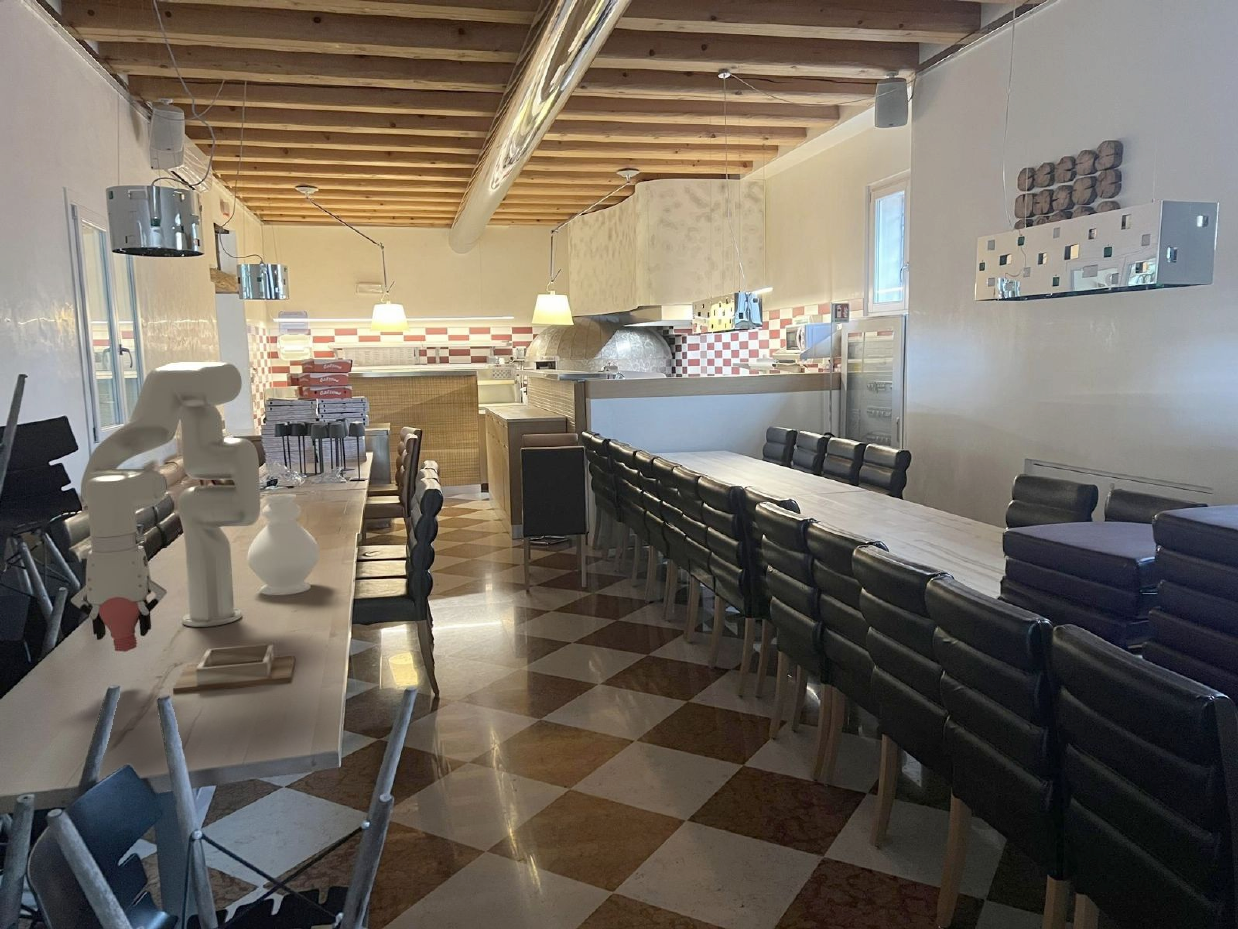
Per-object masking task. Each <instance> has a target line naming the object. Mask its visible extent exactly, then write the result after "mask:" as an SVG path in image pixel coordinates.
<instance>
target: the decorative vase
mask: <svg viewBox="0 0 1238 929" xmlns="http://www.w3.org/2000/svg"><path fill="white" fill-rule="evenodd" d="M295 499H297V495H296V494H294V493H277V494H270V495H266V496H265V500H266V501H268V502H269V503H268V504H266V505H264V507H263V509H262V516H263V517H264V518H265V519H267V521H268V523H267V524H266V525H265V526H264V527H263V528H262V529H261V530H260V531H259V532H258V534H257V535H256V536H255V538H254V539H253V541H252V543H251V544H250V546H249V549H248V552H247V564H248V566H249V568H250V569H251V570H252V572H254V574H255V575H256V576H257V577H258V578H259V579H260V580H261V581H262V582H263V583H264V584H265V585H263V586H261V587H260V589H259V590H260V591H259V592H260V593H261V594H263V595H267V596H286V595H288V596H289V595H295V594H300V593H303V592H306V591H308V590H310V589H311V588H312V587H311V583H310V582H306V580H307V578H308V576H310V574H311V573H312V571H313V570H314V569H315V567H316V566H317V564H318V562H319V560H320V553H321V552H320V548H319V545H318V543H317V541H316V539H315V538H314V537H313V535H312V534H310V532H309V531H308V530H307V529H305V527H303V526H302V524H300V523H299V522H297V521H296V519H297V518H299V516H300V515H301V512H302V509H301V506H300V505H298V503H297V502H294V500H295Z"/></svg>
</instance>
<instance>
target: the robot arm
mask: <svg viewBox="0 0 1238 929" xmlns="http://www.w3.org/2000/svg"><path fill="white" fill-rule="evenodd" d="M242 385H243V382H242V375H241V373H240V371H239V369H238V367H236V366H235V365H233V363H229V362H172V363H168V364H164V365H162V366H160V367H156V368H154V369H152V370H150V372H148V374H146V376H145V379H144V381H143V385H142V387H141V389H140V393H139V395H138V398H137V401H136V402H135V403H136V404H135V406H134V409H133V411H132V414H131V417H130V420H129V421H128V423H126V424H125V425H123V426H121V427H120V428H118V429H117V430H116V431H114V432H112V433H111V434H110V435H109V436H108V437H106V438H105V439H104V440H103V441H101V443H99V444H98V445H97V446H96V447H95V448H94V450H93V451H92V452H91V455H90V457H89V459H88V462H87V464H86V467H85V469H84V472H83V475H82V479H81V483H80V495H81V499H82V500H83V502H84V503H85V504H86V505H87V513H88V515H87V516H88V522H89V523H88V524H89V534H90V547H91V550H89V551H88V553H87V560H86V570H85V585H84V586H83V588H81V589H80V590H79V591H78V592H77V593H76V594H75V595H74V596H73V597H72V598H70V602H71V604H73V605H74V606H75V607H77V608H78V609H80V611H81V612H82V613H84V614H85V615H87V616H88V618H89V619H90V620H92V630H93V635H96V640H97V641H101V640H102V639H104V637H105V636H106V634H107V633H106V632H107V630H106V625H105V624H104V622H103V621H102V619H101V617H100V615H99V607H100V605H101V604H103V603H104V602H105V601H106V600H108V599H110V598H114V597H122V598H126V599H128V600H130V601H132V602H136V603H137V604H138V608H139V610H140V611H141V615H140V616H139V620H138V622H139V634H140V636H141V637H145V636H146V635H147V634H148V632H149V630H151V629H152V621H151V620H152V619H151V612H152V611H153V609H154V608H156V606H157V605H158V604H159V603H160V602H161V601H162V600H163V599H164V597H165V596H166V594H167V593H168V591H167V590H166V589H165V588H164V587H162V586H161V585H159V584H158V583H156V582H155V581H153V580H152V577H151V572H150V566H149V560H148V558H147V553H146V551H145V548H144V547H145V546H142V545H140V544H141V543H146V542H147V535H146V534H140V532H139V530H138V525H137V524H138V523H137V514H136V510H142V509H149V508H152V507H155V506H156V505H158V504H160V503H161V502H162V501H163V499H164V497H165V496H166V492H167V482H166V480H165V478H164V476H163V475H162V474H161V473H160V472H159V471H156V470H153V469H147V468H119V467H120V466H121V465H122V464H124V463H125V462H126V461H128V460H129V459H132V458H134V457H136V456H138V455H140V454H144V453H147V452H150V451H152V450H155V449H156V448H160V447H162V446H164V445H166V444H168V443H170V442H171V441H172V440H173V439H174V438H175V435H176V432H177V430H178V427H179V426H178V425H179V423H180V426H181V427H180V428H181V445H182V446H181V447H182V450H181V451H182V462H183V463H182V464H183V469H184V472H185V474H186V475H187V476H188V477H189V478H191V479H195V480H213V481H215V480H216V481H217V480H231V481H233V483H234V484H231V485H227V484H226V485H222V484H217V485H216V484H212V485H210V484H209V485H208V484H207V485H195V486H191V487H188V488H186V489H184V490H183V491H182V492H181V493H180V495H179V496H178V500H177V511H178V515H179V520H180V523H181V527H182V532H183V537H184V538H183V539H184V548H185V550H184V552H185V564H186V580H187V581H186V582H187V583H186V584H187V596H188V609H189V610H188V613H187V614H184V615H183V616H182V618H181V620H182V621H181V622H182V624H183V625H185V626H188V627H196V628H199V627H200V628H201V627H202V628H204V627H205V628H206V627H216V626H220V625H221V626H222V625H226V624H230V623H233V622H236V621H237V620H239V619H241V618H242V610H241V609H239V608H235V602H234V587H233V582H234V581H233V568H232V548H231V544H230V540H229V538H228V537H227V535H226V534H225V532H224V531H223V530H222V527H249V526H253V525H254V524H255V523H257V521H259V517H260V514H261V487H260V485H261V484H260V482H261V479H260V461H259V455H258V451H257V448H256V446H255V445H254V443H253V442H252V441H251V440H249V439H246V438H239V437H231V438H230V437H226V438H225V437H224V434H223V433H224V432H223V418H222V415H221V413H220V411H219V409H218V408H217V407H216V406H220V405H222V404H223V405H224V404H226V403H229V402H232V401H234V400H235V399H236V398H237V397H238V396H239V394H240V393H241V389H242ZM152 593H154V594H155V596H154V597H153V598H152V599H151V600H150V601H149V600H148V599H147V598H148V596H149V595H150V594H152ZM85 596H86V599H87V601H86V600H84V597H85Z"/></svg>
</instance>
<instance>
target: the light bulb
mask: <svg viewBox="0 0 1238 929" xmlns="http://www.w3.org/2000/svg"><path fill="white" fill-rule="evenodd" d="M99 615H100V617H101V619H102V621H103V622H104V624H105V627H106V628H107V629H108V630H109V632H110V637H111V638H113V640H112V641H113V646H114V651H115V652H124V653H125V652H128V651H130V650H134V649H135V648H137V647H138V646H137V644H138V642H137V636H136V635H135V634H136V626H137V623H138V622H139V616H140V615H141V611H140V610H139V608H138V604H137V603H136V602H132V601H130V600H128V599H126V598H122V597H114V598H110V599H108V600H106V601H105V602H104V603H103V604H101V605H100V607H99Z"/></svg>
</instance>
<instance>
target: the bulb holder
mask: <svg viewBox="0 0 1238 929" xmlns="http://www.w3.org/2000/svg"><path fill="white" fill-rule="evenodd" d="M274 646H275V645H274V643H261V644H260V643H259V644H252V645H251V644H250V645H238V646H226V647H217V648H216V647H215V648H207V649H206V651H205V653H204V655H203V656H202V659H200V663H193V664H187V665H186V666H185V668H184V669H183V671H182V672H181V674H180V675H179V678H177V681H176V682H175V684H174V686H173V687H172V694H173V695H174V694H183V693H184V694H185V693H192V692H193V693H195V692H207V691H214V690H215V691H217V690H226V689H235V688H245V687H256V686H266V685H268V686H269V685H278V684H287V683H291V680H292V676H293V672H294V668H295V664H296V661H297V660H296V659H297V658H296V655H295V654H294V655H284V656H275V652H274V651H275V647H274Z"/></svg>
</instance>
